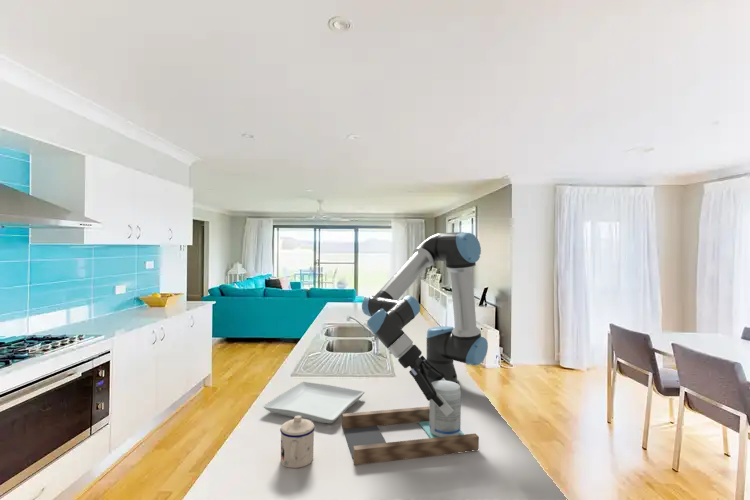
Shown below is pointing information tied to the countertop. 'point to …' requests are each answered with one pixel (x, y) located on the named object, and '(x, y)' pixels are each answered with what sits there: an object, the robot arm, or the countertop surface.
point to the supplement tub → (438, 420)
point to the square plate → (314, 402)
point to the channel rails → (403, 448)
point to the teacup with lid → (297, 442)
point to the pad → (427, 429)
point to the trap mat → (363, 436)
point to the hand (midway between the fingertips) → (452, 404)
